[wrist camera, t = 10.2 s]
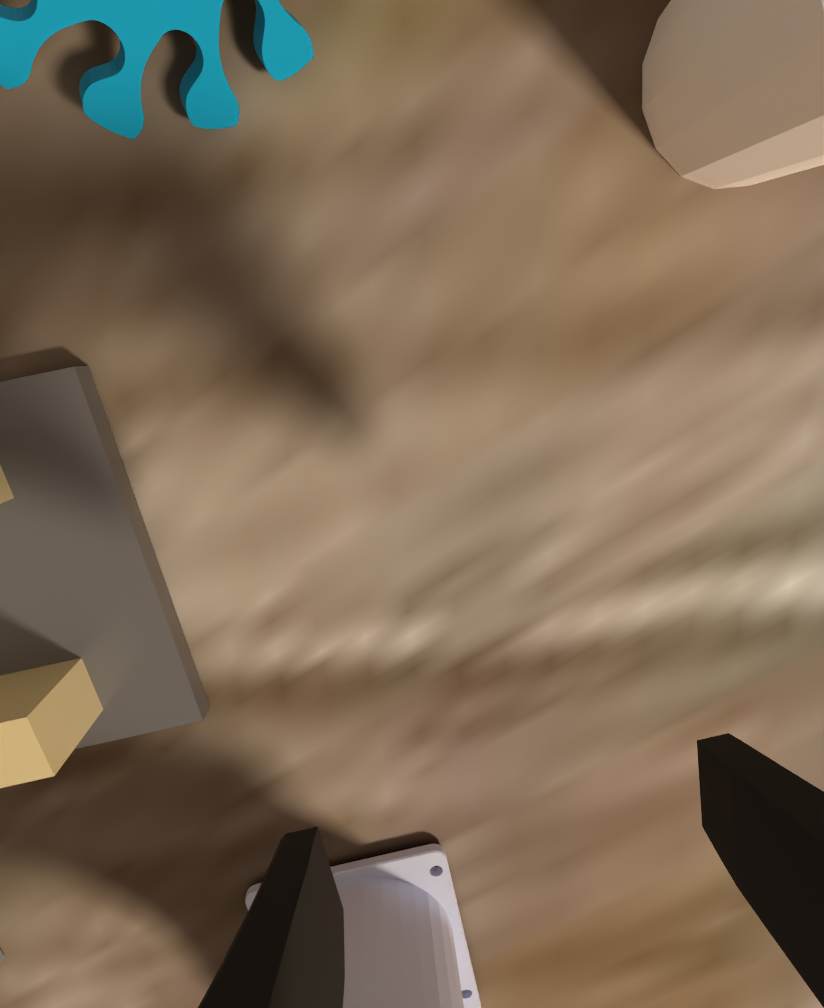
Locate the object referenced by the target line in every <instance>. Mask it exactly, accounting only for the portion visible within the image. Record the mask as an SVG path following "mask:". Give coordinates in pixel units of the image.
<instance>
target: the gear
mask: <svg viewBox="0 0 824 1008" xmlns="http://www.w3.org/2000/svg"><path fill="white" fill-rule="evenodd" d="M223 1H224V0H32V1H31V2H30V3H29V4H28V5H27V6H25V7H22V8H12V7H7V6H4V5H1V4H0V85H1V86H2V87H4V88H15V87H18V86H21V85H22V84H23V83H24V82H26V81H27V79H28V77H29V75H30V72H31V68H32V63H33V60H34V58H35V56H36V54H37V51H38V49H39V48H40V47H41V46H42V44H43V43H44V42H45V40H46V39H47V38H49V37H50V36H51V35H53V34H54V33H55V32H56V31H59V30H61V29H63V28H65V27H68V26H70V25H74V24H77V23H80V22H83V21H87V20H96V21H99V22H102V23H104V24H106V25H107V26H109V27H110V28H111V29H112V30H113V31H114V32H115V33H116V34H117V35H118V37H119V38H120V50H119V53H118V55H117V57H116V58H115V59H114V60H112V61H110V62H108V63H105V64H102V65H99V66H96V67H93V68H91V69H89V70H88V71H87V72H85V73H84V75H83V76H82V78H81V81H80V85H79V93H80V98H81V102H82V106H83V110H84V114H86V115H87V116H88V117H89V118H90V119H92V120H93V121H94V122H96V123H97V124H99V125H101V126H102V127H104V128H106V129H108V130H110V131H112V132H114V133H117V134H119V135H122V136H125V137H128V138H131V139H134V138H135V137H137V136H138V135H139V133H140V132H141V130H142V127H143V124H144V114H143V109H142V104H141V80H142V74H143V70H144V67H145V64H146V62H147V60H148V58H149V56H150V54H151V52H152V50H153V49H154V47H155V46H156V44H157V43H158V41H159V40H160V38H161V37H162V36H163V35H164V33H166V32H168V31H170V30H181V31H184V32H186V33H188V34H189V35H191V36H192V37H193V38H194V39H195V42H196V57H195V59H194V61H193V63H192V64H191V66H190V67H189V69H188V70H187V72H186V73H185V75H184V76H183V78H182V80H181V84H180V98H181V101H182V104H183V107H184V109H185V111H186V113H187V115H188V117H189V120H190V121H191V123H192V125H193V126H197V127H200V128H206V129H220V128H228V127H233V126H236V125H237V122H238V120H239V106H238V102H237V100H236V97H235V95H234V94H233V92H232V90H231V88H230V87H229V85H228V82H227V80H226V77H225V75H224V72H223V68H222V64H221V60H220V52H219V24H220V13H221V7H222V3H223ZM255 4H256V18H255V26H254V37H253V41H254V47H255V50H256V54H257V56H258V57H259V59H260V61H261V62H262V64H263V65H264V67H265V68H266V70H267V71H268V72H269V74H270V75H271V76H272V77H273V78H274V79H275V80H276V81H280V80H283V79H286V78H288V77H290V76H292V75H294V74H295V73H296V72H298V71H299V70H300V69H302V68H303V67H304V66H305V65H306V64H307V63H308V62H309V61H310V60H311V59H312V58H313V47H312V42H311V40H310V37H309V35H308V33H307V32H306V31H305V30H304V28H303V27H302V26H301V25H300V24H299V22H298V21H297V20H296V19H295V18H294V16H293V15H291V14H290V13H289V12H288V11H286V10H285V9H284V8H283V7H282V5H281V4H280V2H279V1H278V0H255Z"/></svg>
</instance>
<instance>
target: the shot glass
mask: <svg viewBox="0 0 824 1008" xmlns="http://www.w3.org/2000/svg"><path fill="white" fill-rule="evenodd" d="M642 111H643V114H644V117H645V120H646V123H647V126H648V128H649V131H650V134H651V137H652V140H653V143H654V146H655V148H656V150H657V151H658V152H659V153H660V154H661V155H662V156H663V158H664V159H665V160H666V161H667V162H668V163H669V164H670V165H671V166H672V167H673V168H674V170H675V171H676V172H677V173H678V174H679V175H680V176H681V177H683V178H686V179H689V180H691V181H694V182H696V183H699V184H702V185H704V186H707V187H709V188H712V189H720V188H730V187H740V186H750V185H753V184H757V183H760V182H764V181H767V180H771V179H775V178H778V177H782V176H785V175H789V174H792V173H796V172H800V171H803V170H807V169H810V168H814V167H817V166H821V165H824V0H671V1H670V2H669V4H668V5H667V7H666V8H665V9H664V11H663V12H662V14H661V15H660V17H659V18H658V20H657V23H656V26H655V29H654V32H653V35H652V37H651V40H650V43H649V46H648V49H647V52H646V55H645V58H644V61H643V64H642Z"/></svg>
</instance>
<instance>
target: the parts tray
mask: <svg viewBox="0 0 824 1008" xmlns="http://www.w3.org/2000/svg"><path fill="white" fill-rule="evenodd" d="M3 958H4V955H3V953H2V952H1V950H0V963H1V961H2V959H3Z"/></svg>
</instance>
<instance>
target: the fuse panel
mask: <svg viewBox="0 0 824 1008" xmlns="http://www.w3.org/2000/svg"><path fill="white" fill-rule="evenodd" d="M208 709H209V704H208V701H207V698H206V695H205V692H204V689H203V687H202V684H201V681H200V678H199V675H198V673H197V670H196V667H195V664H194V661H193V659H192V656H191V653H190V650H189V647H188V645H187V642H186V639H185V636H184V633H183V631H182V628H181V625H180V622H179V619H178V617H177V614H176V611H175V608H174V605H173V602H172V600H171V597H170V594H169V591H168V588H167V586H166V583H165V580H164V577H163V574H162V572H161V569H160V566H159V563H158V560H157V558H156V555H155V552H154V549H153V546H152V544H151V541H150V538H149V535H148V532H147V530H146V527H145V524H144V521H143V518H142V516H141V513H140V510H139V507H138V504H137V501H136V499H135V496H134V493H133V490H132V487H131V485H130V482H129V479H128V476H127V473H126V471H125V468H124V465H123V462H122V459H121V457H120V454H119V451H118V448H117V445H116V443H115V440H114V437H113V434H112V431H111V429H110V426H109V423H108V420H107V417H106V415H105V412H104V409H103V406H102V403H101V400H100V398H99V395H98V392H97V389H96V386H95V384H94V381H93V378H92V375H91V372H90V370H89V367H88V366H74V367H69V368H64V369H59V370H55V371H50V372H45V373H40V374H35V375H30V376H25V377H21V378H16V379H11V380H6V381H1V382H0V788H4V787H8V786H13V785H17V784H22V783H26V782H31V781H35V780H40V779H44V778H48V777H53V776H55V775H56V773H57V772H58V771H59V769H60V768H61V767H62V765H63V764H64V762H65V761H66V760H67V758H68V757H69V756H70V754H71V753H72V752H73V750H74V749H78V748H83V747H87V746H92V745H96V744H101V743H106V742H110V741H115V740H119V739H124V738H128V737H133V736H137V735H142V734H146V733H151V732H155V731H160V730H164V729H169V728H173V727H178V726H182V725H187V724H191V723H196V722H200V721H203V720H204V718H205V715H206V713H207V711H208Z"/></svg>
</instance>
